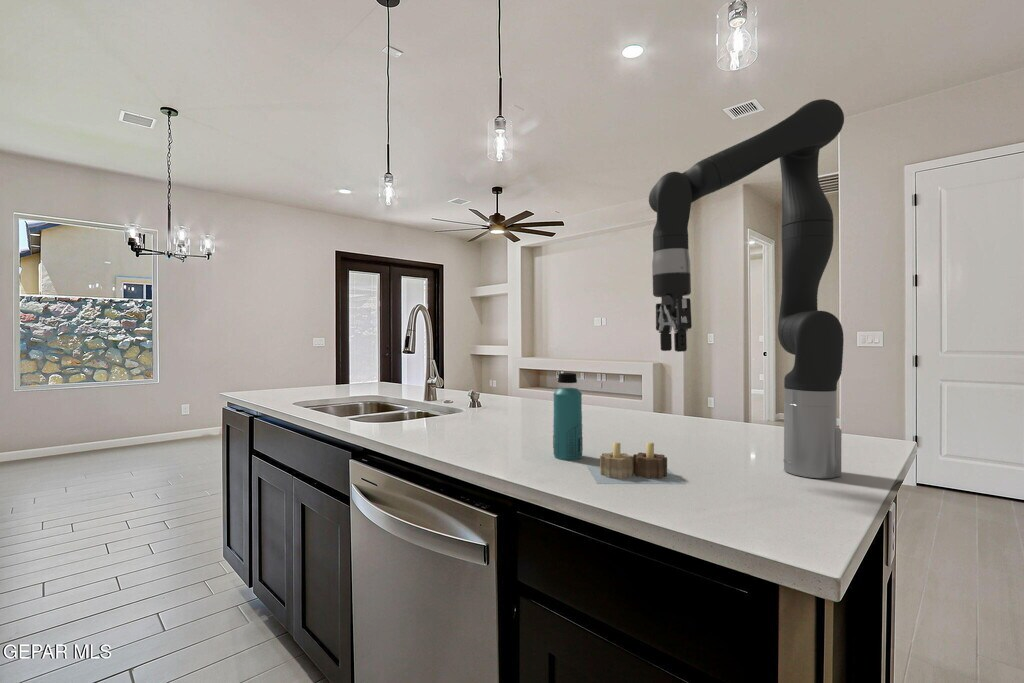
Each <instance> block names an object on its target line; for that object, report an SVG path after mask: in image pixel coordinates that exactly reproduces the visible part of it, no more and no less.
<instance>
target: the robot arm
mask: <svg viewBox="0 0 1024 683" xmlns="http://www.w3.org/2000/svg"><path fill="white" fill-rule="evenodd" d="M844 123H845V114H844V111H843V109H842V108H841V106H840V105H839V104H838V103H836V102H835V101H833V100H830V99H827V98H826V99H825V98H821V99H820V98H819V99H815V100H811V101H809V102H808V103H806V104H804V105H802V106H801V107H800V108H798V110H797V109H796V111H795V112H794V113H792V114H791V115H790V116H787V117H786V118H785V119H783V120H782V121H780V122H778V123H777V124H775V125H773V126H771V127H769V128H767V129H765V130H764V131H762V132H760V133H758V134H756V135H754V136H752V137H749V138H746V140H742V141H741V142H739V143H737V144H734V145H732V146H729V147H728V148H725V149H722V150H721V151H718V152H716V153H714V154H711V155H709V156H707V157H705V158H704V159H701V160H700V161H698V162H696V163H695V164H693V166H691V167H690V168H689V169H688V170H685V171H684V172H679V171H670V172H667V173H666V174H664V175H662V176H661V177H660V178H659V179H658V181H657V182H656V183H655V185H654V186H653V187H652V188H651V190H650V192H649V196H648V202H649V203H648V204H649V207H650V209H651V210H652V211H653V212H654V213H656V222H655V225H654V228H653V230H652V231H653V233H652V252H653V253H652V264H651V265H652V266H651V267H652V269H651V270H652V273H651V274H652V295H653V297H655V298H660V299H661V302H660V303H655V330H656V331H658V333H659V338H660V340H659V341H660V351H663V352H666V351H667V352H671V351H672V349H673V348H672V346H674V351H675V352H687V348H688V345H687V344H688V343H687V338H688V337H687V333H688V332H689V330H691V329H692V327H693V324H692V307H691V306H692V305H691V304H692V303H691V298H689V297H688V298H687V297H686V296H689V295H691V294H692V288H691V286H692V281H691V280H692V278H691V259H690V258H691V257H690V252H689V251H690V249H689V221H690V216H691V208H692V203H695V202H696V201H698V200H699V199H701V198H703V197H705V196H708V195H710V194H712V193H713V194H714V193H715V192H717V191H720V190H722V189H724V188H726V187H728V186H730V185H732V184H735V183H736V182H738V181H740V180H742V179H744V178H745V177H747V176H749V175H751V174H753V173H754V172H756V171H758V170H761V169H762V168H763V167H765V166H767V165H769V164H771V163H772V162H774V161H776V160H778V159H779V163H780V164H779V165H780V166H779V167H780V174H781V184H782V185H781V215H782V216H781V298H780V307H779V314H778V324H777V338H778V342H779V343H780V345H781V347H782V348H783V350H784V351H786V352H787V353H789V354H791V355H793V356H794V364H793V366H792V369H791V370H790V371H789V372H788V373H786V374H785V376H784V379H783V382H784V383H783V384H784V385H783V387H784V388H783V392H784V393H783V400H784V401H783V402H784V403H783V411H784V412H783V418H784V419H783V422H784V423H783V470H784V471H785V472H787V473H789V474H791V475H795V476H800V477H804V478H811V479H812V478H813V479H833V478H836V477H842V439H843V438H842V434H843V433H842V429H841V428H840V427H837V423H838V422H837V417H838V416H837V410H838V409H837V408H838V406H837V405H838V404H837V402H838V397H837V396H838V395H837V394H838V392H837V390H838V389H837V388H838V383H839V380H840V378H841V376H842V371H843V359H844V358H843V357H844V340H845V339H844V331H843V330H844V329H843V326H842V324H841V321H840V319H839V318H838V317H837V316H836V315H834V314H833V313H831V312H829V311H826V310H818V295H819V294H818V293H819V286H820V283H821V280H822V276H823V274H824V273H825V269H826V268H827V265H828V263H829V260H830V257H831V254H832V251H833V248H834V247H833V246H834V214H833V213H834V212H833V209H832V206H831V204H830V202H829V200H828V198H827V196H826V195H825V192H824V191H823V189H822V187H821V184H820V180H819V157H820V150H821V149H823V148H824V147H825V146H827V145H829V144H830V143H831V142H832V141H833V140H835V139H836V138H837V137H838V135H839V134H840V133H841V131H842V129H843V127H844ZM684 297H685V298H684ZM672 331H673V332H674V333H673V334H674V337H673V338H674V339H673V340H674V342H672ZM673 343H674V345H672V344H673Z"/></svg>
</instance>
